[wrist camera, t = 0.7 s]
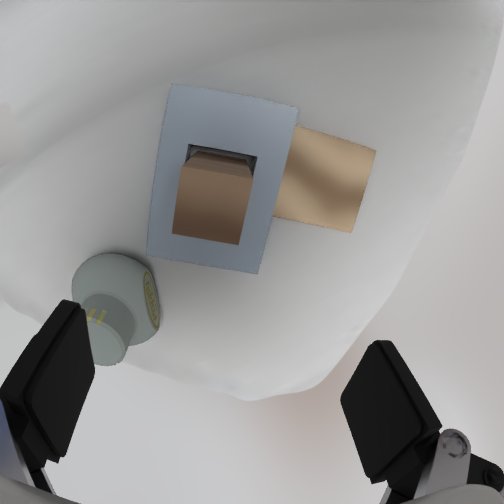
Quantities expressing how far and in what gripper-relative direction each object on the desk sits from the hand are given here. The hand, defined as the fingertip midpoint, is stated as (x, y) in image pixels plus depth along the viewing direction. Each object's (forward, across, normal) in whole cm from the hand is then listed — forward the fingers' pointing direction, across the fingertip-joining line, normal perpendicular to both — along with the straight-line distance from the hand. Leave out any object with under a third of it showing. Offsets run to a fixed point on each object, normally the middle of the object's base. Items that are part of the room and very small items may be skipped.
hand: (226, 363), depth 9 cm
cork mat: (+22, -9, -3) cm, 24 cm away
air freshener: (+22, +10, +12) cm, 27 cm away
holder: (+22, +1, -2) cm, 22 cm away
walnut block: (+22, +1, -2) cm, 22 cm away
